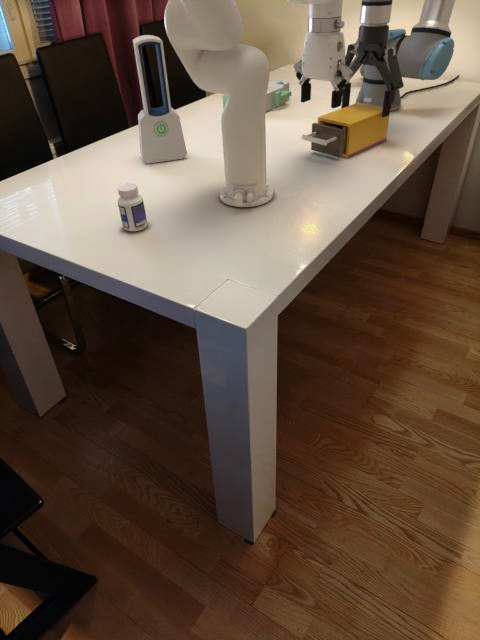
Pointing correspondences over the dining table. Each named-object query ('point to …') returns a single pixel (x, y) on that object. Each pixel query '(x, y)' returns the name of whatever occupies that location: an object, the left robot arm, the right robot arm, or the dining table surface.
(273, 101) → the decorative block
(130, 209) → the pill bottle
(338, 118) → the yellow open box
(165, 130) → the electronic device
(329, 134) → the drawer
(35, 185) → the dining table surface
